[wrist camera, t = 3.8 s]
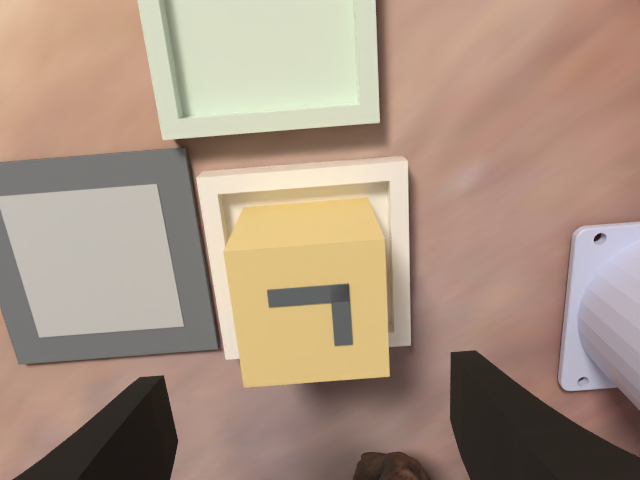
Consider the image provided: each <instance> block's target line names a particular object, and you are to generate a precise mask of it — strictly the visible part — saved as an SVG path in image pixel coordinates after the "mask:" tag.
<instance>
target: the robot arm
mask: <svg viewBox="0 0 640 480" xmlns="http://www.w3.org/2000/svg"><path fill="white" fill-rule="evenodd" d="M599 233H601V238H600V239H599V240H598V241H595V242H594V237H595V236H596V235H597V234H599ZM582 377H584V379H583V380H581V381H578V380H579V379H580V378H582ZM558 383H559V384H560V385H561V387H562V388H563V389H564V390H566V391H579V390H592V389H605V388H619V389H620V390H621V391H622V392H623V394H624V395H625V396H626V397H627V398H628V399H629V400H630V401H631V402H632V403H633V404H634V405H635V406H636V407H637V408H638V409H639V410H640V222H628V223H615V224H602V225H590V226H582V227H580V228H578V229H577V230H576V231H575V232H574V233H573V236H572V240H571V251H570V261H569V271H568V281H567V291H566V301H565V311H564V321H563V331H562V341H561V352H560V362H559V372H558ZM450 421H451V424H452V428H453V432H454V435H455V439H456V442H457V445H458V449H459V452H460V455H461V458H462V461H463V463H464V465H465V468H466V470H467V472H468V475H469V477H470V479H471V480H640V457H637V456H635V455H633V454H631V453H629V452H627V451H625V450H623V449H621V448H619V447H617V446H615V445H613V444H611V443H610V442H608V441H606V440H604V439H602V438H601V437H599V436H597V435H595V434H593V433H592V432H590V431H588V430H586V429H584V428H583V427H581V426H579V425H578V424H576V423H575V422H573V421H571V420H570V419H568V418H567V417H565V416H564V415H562V414H560V413H559V412H557V411H556V410H554V409H553V408H551V407H550V406H548V405H547V404H545V403H544V402H543V401H541V400H540V399H538V398H537V397H535V396H534V395H533V394H531V393H530V392H529V391H527V390H526V389H524V388H523V387H522V386H520V385H519V384H518V383H516V382H515V381H514V380H513V379H511V378H510V377H509V376H507V375H506V374H505V373H504V372H502V371H501V370H500V369H498V368H497V367H496V366H495V365H493V364H492V363H491V362H490V361H488V360H487V359H486V358H485V357H483V356H482V355H481V354H479V353H478V352H477V351H475V350H474V351H462V352H451V383H450ZM177 445H178V438H177V434H176V429H175V424H174V420H173V415H172V411H171V406H170V402H169V397H168V393H167V388H166V383H165V379H164V375H163V376H150V377H140V378H138V379H137V380H136V381H134V382H133V383H132V384H131V385H129V386H128V387H127V388H126V389H125V390H124V391H122V392H121V393H120V394H119V395H118V396H117V397H116V398H114V399H113V400H112V401H111V402H110V403H109V404H108V405H107V406H105V407H104V408H103V409H102V410H101V411H100V412H98V413H97V414H96V415H95V416H94V417H93V418H92V419H90V420H89V421H88V422H87V423H86V424H85V425H83V426H82V427H81V428H80V429H79V430H77V431H76V432H75V433H74V434H72V435H71V436H70V437H69V438H67V439H66V440H65V441H64V442H62V443H61V444H60V445H59V446H57V447H56V448H55V449H54V450H52V451H51V452H50V453H49V454H47V455H46V456H45V457H44V458H42V459H41V460H40V461H38V462H37V463H36V464H34V465H33V466H31V467H30V468H29V469H27V470H26V471H25V472H23V473H22V474H20V475H19V476H17V477H16V478H14V479H13V480H170V477H171V473H172V469H173V464H174V460H175V455H176V450H177Z"/></svg>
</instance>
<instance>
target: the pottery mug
mask: <svg viewBox="0 0 640 480" xmlns="http://www.w3.org/2000/svg"><path fill="white" fill-rule="evenodd" d="M353 480H430V479H429V478H428V477H427V475H426V474H425V472H424V471H423V469H422V468H421V466H420V464H419V462H418V461H417V460H416V459H414V458H412V457H410V456H408V455H406V454H404V453H402V452H393V453H389V454H383V453H376V452H369V453H363V454H362V455H361V460H360V461H359V462H358V464H357V468H356V472H355V475H354V477H353Z"/></svg>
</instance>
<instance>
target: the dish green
mask: <svg viewBox="0 0 640 480" xmlns="http://www.w3.org/2000/svg"><path fill="white" fill-rule="evenodd" d="M137 1H138V6H139V12H140V17H141V23H142V28H143V34H144V39H145V45H146V50H147V56H148V62H149V67H150V73H151V78H152V84H153V89H154V95H155V100H156V106H157V111H158V117H159V122H160V128H161V133H162V139H163V140H170V139H182V138H195V137H207V136H220V135H232V134H245V133H257V132H270V131H282V130H295V129H307V128H320V127H332V126H345V125H357V124H369V123H380V113H379V85H378V57H377V29H376V0H137Z"/></svg>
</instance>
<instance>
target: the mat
mask: <svg viewBox="0 0 640 480" xmlns="http://www.w3.org/2000/svg"><path fill="white" fill-rule="evenodd" d="M0 308H1V311H2V314H3V317H4V320H5V323H6V327H7V330H8V333H9V336H10V339H11V342H12V345H13V348H14V351H15V354H16V357H17V360H18V363H19V364H31V363H45V362H58V361H71V360H84V359H97V358H110V357H123V356H136V355H149V354H162V353H175V352H188V351H201V350H215V349H218V347H219V342H218V336H217V330H216V324H215V318H214V312H213V306H212V300H211V294H210V288H209V282H208V276H207V270H206V264H205V258H204V252H203V246H202V240H201V234H200V228H199V222H198V216H197V210H196V204H195V198H194V192H193V186H192V180H191V174H190V168H189V162H188V156H187V150H186V147H184V148H171V149H159V150H146V151H134V152H121V153H109V154H96V155H83V156H71V157H58V158H46V159H33V160H21V161H8V162H0Z"/></svg>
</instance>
